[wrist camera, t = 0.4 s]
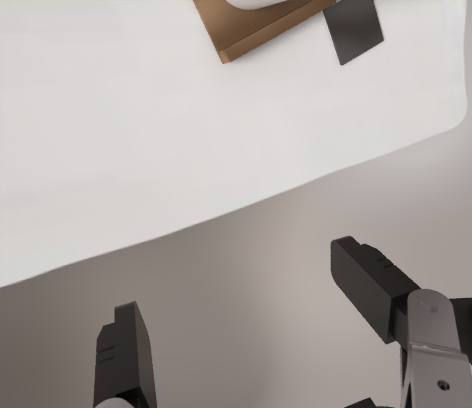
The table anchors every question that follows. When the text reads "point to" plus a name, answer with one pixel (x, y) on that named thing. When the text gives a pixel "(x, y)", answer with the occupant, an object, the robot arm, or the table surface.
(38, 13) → the table surface
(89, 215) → the table surface
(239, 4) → the pill bottle
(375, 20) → the lane
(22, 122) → the table surface
